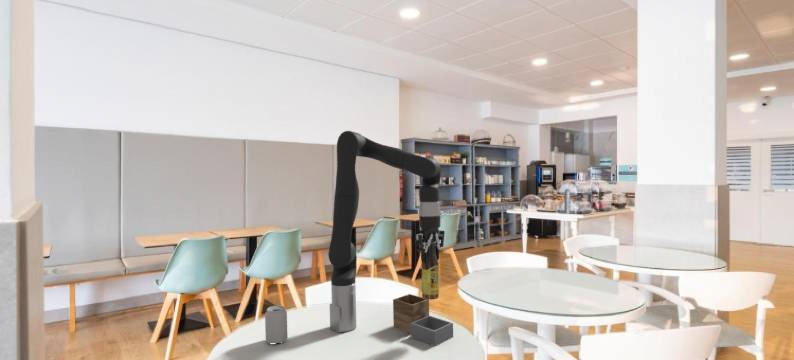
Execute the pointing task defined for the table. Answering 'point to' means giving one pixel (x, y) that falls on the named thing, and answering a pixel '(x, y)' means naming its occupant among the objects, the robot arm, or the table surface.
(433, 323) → the low holder
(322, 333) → the table surface
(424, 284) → the sauce bottle
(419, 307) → the box
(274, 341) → the can
